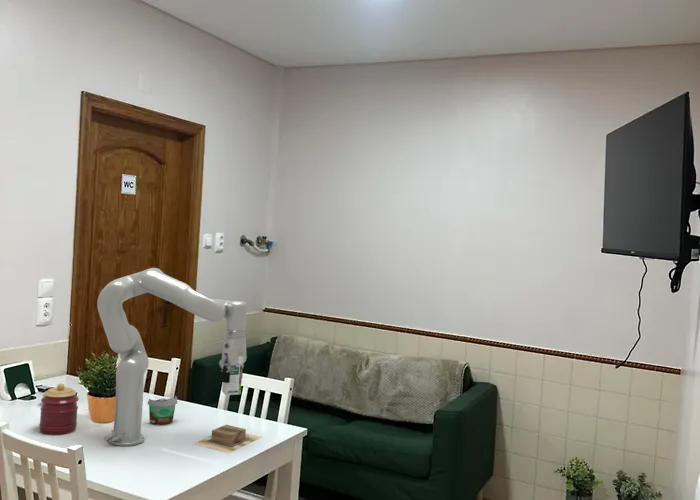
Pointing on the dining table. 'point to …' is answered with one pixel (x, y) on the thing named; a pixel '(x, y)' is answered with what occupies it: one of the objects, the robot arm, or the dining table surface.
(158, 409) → the food container
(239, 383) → the syrup box
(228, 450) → the build plate
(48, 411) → the canister
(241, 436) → the base block
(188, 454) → the dining table surface
